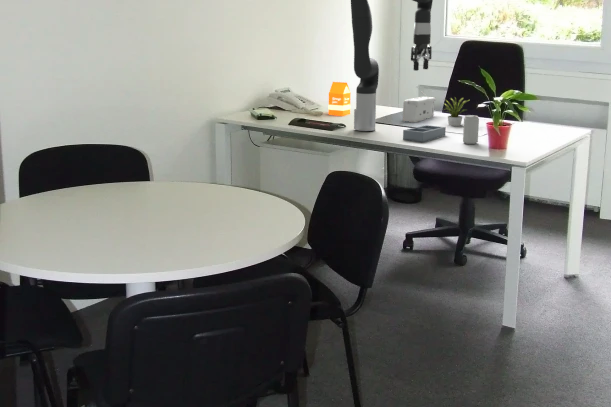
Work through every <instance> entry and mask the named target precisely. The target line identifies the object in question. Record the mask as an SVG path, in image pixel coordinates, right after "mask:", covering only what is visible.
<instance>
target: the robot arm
mask: <svg viewBox="0 0 611 407" xmlns="http://www.w3.org/2000/svg"><path fill="white" fill-rule="evenodd" d="M433 1H434V0H412V2H414V3H415V2H416V3H417V4H416V5H417V6H416V10H415V13H414V26H413V39H412V40H413V45H415V46H412V47H411V50H410V51H411V52H410V61H411V62H413V71H417V72H418V71H419V66H420V62H419V61H420V59H421V58H422V60H423V61H422V62H423V65H422V69H423V70H429V61H430V60H432V52H433V51H432V50H433V49H432V48H433V47H432V45H430V44H431V38H432V37H431V33H432V32H431V31H432V30H431V29H432V27H431V18H432V17H431V16H432V15H431V12H432V7H433ZM350 11H351V12H350V13H351V28H352V39H353V71H354V74H355V75H356V77H357V78H359V79H360V80H359V83H358V84H357V87H356V93H355V94H356V95H355V96H356V97H355V100H356V101H355V109H354V110H353V114H354V115H353V130H356V131H363V132H369V131H370V132H371V131H372V132H373V131H375V130H376V122H377V120H376V117H377V116H376V114H377V113H376V112H377V89H378V86H379V76H380V75H379V74H380V67H379V63H378V62H377V60H376V58H373V57H371V56H370V51H369V50H370V49H369V48H370V41H371V38H372V34H373V16H372V10H371V7H370V4H369V1H368V0H350Z"/></svg>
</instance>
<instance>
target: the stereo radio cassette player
mask: <svg viewBox="0 0 611 407" xmlns="http://www.w3.org/2000/svg"><path fill="white" fill-rule="evenodd" d="M416 89H419V91H420V92H421V93H422V94H423V95H424V96H420V97H419V96H418V97H414V98H408V99H405V100H403V105H402V106H403V107H402V121H403V122H405V121H409V122H408V123H418V122H421V121H424V120H427V119H430V117H431V118H434V117H433V116H434V115H435V102H436V101H437V98H436V97H432V96H428V95H427V94H426V93H425V92H424V91H422V90H421V89H420V88H419V86H416ZM426 118H427V119H426Z"/></svg>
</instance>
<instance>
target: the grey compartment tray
mask: <svg viewBox="0 0 611 407" xmlns="http://www.w3.org/2000/svg"><path fill="white" fill-rule="evenodd" d="M446 130H447V128H446V126H437V125H428V124H424V125H421V126H420V125H419V126H416V127H410V128H407V129H403V132H402V140H403V141H409V142H415V143H417V142H418V143H427V142H431V141H433V140H436V139H439V138H442V137H446Z"/></svg>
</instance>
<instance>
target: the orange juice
mask: <svg viewBox="0 0 611 407" xmlns="http://www.w3.org/2000/svg"><path fill="white" fill-rule="evenodd" d="M327 110H328V115H329V116H337V117H338V116H339V117H345V116H348V115H351V90H350V88H349V85H348V82H342V81H341V82H340V81H332V83H331V86H330V90H329V92H328V108H327Z"/></svg>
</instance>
